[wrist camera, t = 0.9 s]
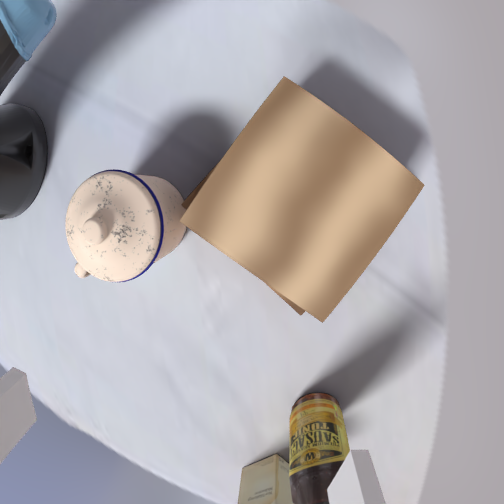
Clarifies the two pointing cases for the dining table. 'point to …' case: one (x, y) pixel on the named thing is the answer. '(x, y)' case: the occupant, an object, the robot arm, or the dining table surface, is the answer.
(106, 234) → the teacup with lid
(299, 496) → the sauce bottle
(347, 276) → the tower top block
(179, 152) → the dining table surface
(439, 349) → the dining table surface
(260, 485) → the skincare box
